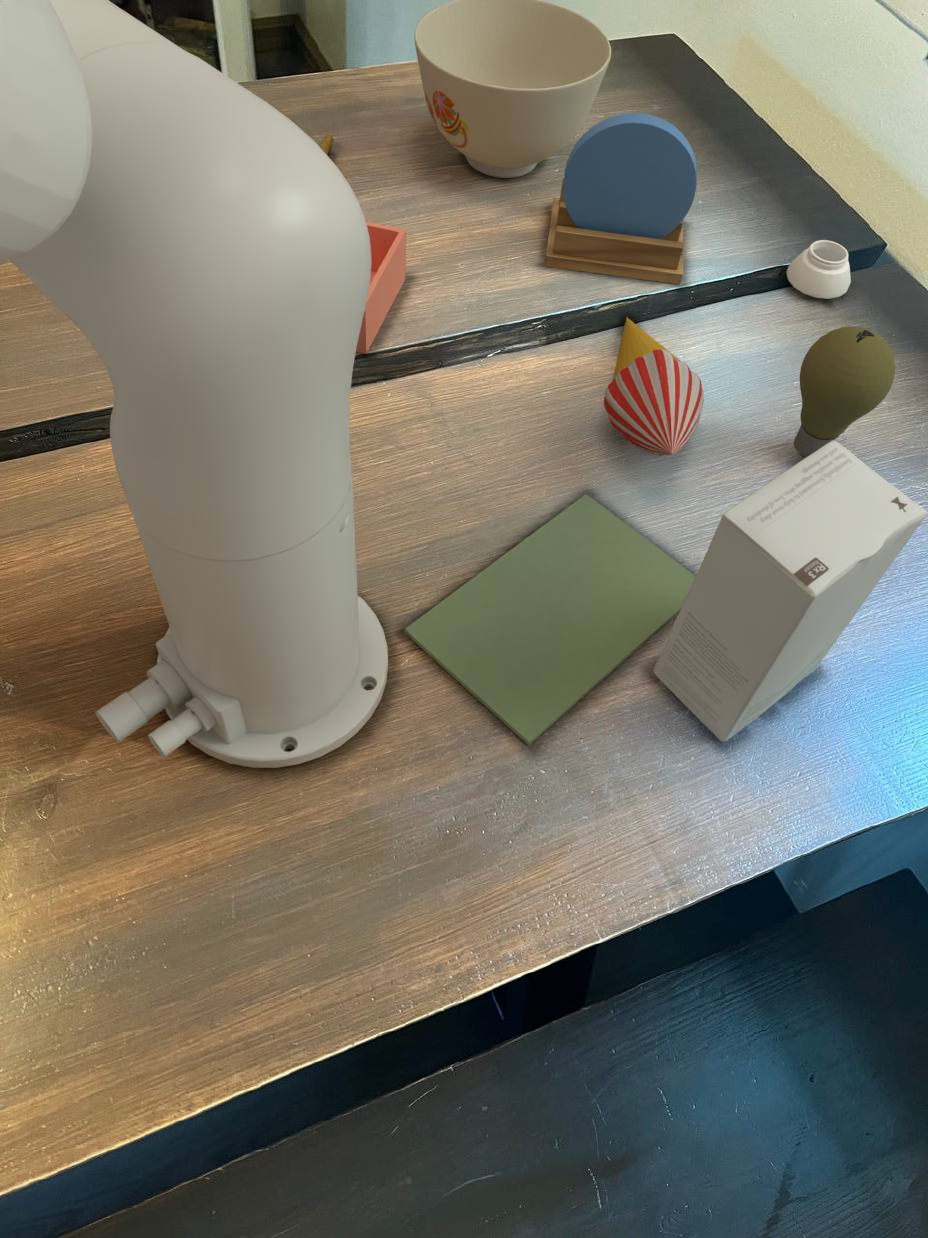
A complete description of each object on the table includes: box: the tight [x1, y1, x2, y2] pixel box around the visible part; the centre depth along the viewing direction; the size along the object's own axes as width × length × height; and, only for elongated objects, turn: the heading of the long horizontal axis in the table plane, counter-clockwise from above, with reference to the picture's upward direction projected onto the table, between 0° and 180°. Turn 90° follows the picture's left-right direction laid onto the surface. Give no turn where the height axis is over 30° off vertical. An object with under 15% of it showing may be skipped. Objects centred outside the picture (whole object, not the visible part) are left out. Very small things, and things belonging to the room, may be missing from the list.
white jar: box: [786, 239, 852, 300], centre depth 77 cm, size 5×3×5 cm
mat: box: [404, 493, 696, 746], centre depth 57 cm, size 16×10×1 cm, turn 135°
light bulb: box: [793, 326, 896, 459], centre depth 63 cm, size 6×6×10 cm
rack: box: [543, 177, 684, 285], centre depth 78 cm, size 8×11×3 cm
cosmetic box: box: [652, 440, 928, 743], centre depth 49 cm, size 8×6×15 cm
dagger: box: [319, 134, 334, 156], centre depth 82 cm, size 11×1×2 cm
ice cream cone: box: [603, 316, 705, 456], centre depth 67 cm, size 6×6×20 cm
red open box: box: [356, 220, 407, 355], centre depth 69 cm, size 18×10×10 cm, turn 75°
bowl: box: [413, 0, 612, 179], centre depth 82 cm, size 16×16×10 cm
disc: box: [563, 112, 698, 239], centre depth 73 cm, size 1×10×10 cm, turn 83°
